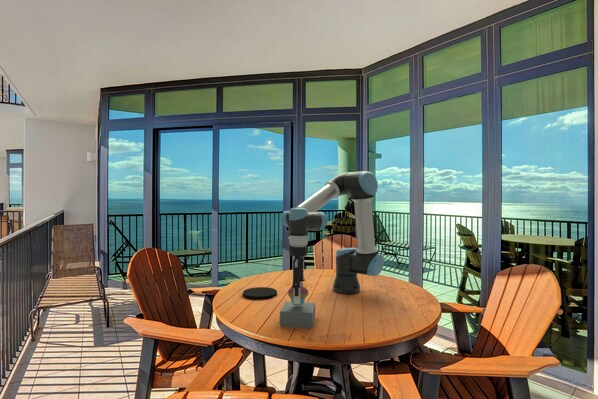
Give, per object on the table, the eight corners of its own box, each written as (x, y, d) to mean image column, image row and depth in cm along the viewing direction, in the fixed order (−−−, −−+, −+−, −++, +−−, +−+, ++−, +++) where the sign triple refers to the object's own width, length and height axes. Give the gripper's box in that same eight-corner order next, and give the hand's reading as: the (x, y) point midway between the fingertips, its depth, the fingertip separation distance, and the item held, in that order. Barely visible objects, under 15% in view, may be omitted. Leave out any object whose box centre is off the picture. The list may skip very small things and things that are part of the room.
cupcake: (287, 300, 145) (287, 272, 144) (307, 300, 145) (307, 272, 145) (288, 307, 136) (288, 277, 136) (309, 306, 137) (309, 276, 137)
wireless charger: (267, 289, 191) (267, 285, 191) (283, 297, 176) (283, 293, 176) (237, 293, 182) (237, 290, 182) (251, 302, 167) (251, 298, 167)
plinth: (315, 316, 146) (315, 302, 146) (312, 328, 133) (312, 312, 133) (285, 315, 148) (285, 301, 148) (279, 326, 135) (279, 311, 135)
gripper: (293, 241, 151) (293, 292, 152) (284, 249, 131) (285, 308, 131) (310, 242, 150) (310, 293, 151) (304, 249, 130) (304, 309, 130)
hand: (298, 300), depth 141 cm, fingers closed on cupcake, 8 cm apart
